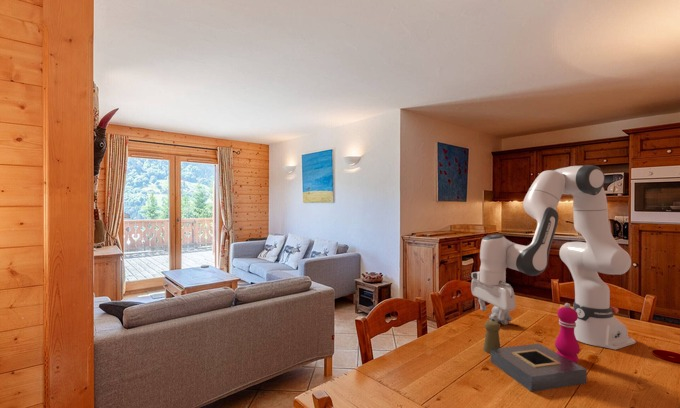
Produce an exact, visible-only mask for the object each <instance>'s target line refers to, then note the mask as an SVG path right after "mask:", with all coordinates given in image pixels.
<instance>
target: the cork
mask: <svg viewBox="0 0 680 408" xmlns="http://www.w3.org/2000/svg"><path fill="white" fill-rule="evenodd" d="M484 329H485V337H484V341H483V342H484V343H483V351H484V353H486V354H489V355H491V349H495V348H502V347H501V341H500V334H499V332H500V330H501V325H500V323H497V322H495V321H489V320H486V321H485V323H484Z"/></svg>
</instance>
